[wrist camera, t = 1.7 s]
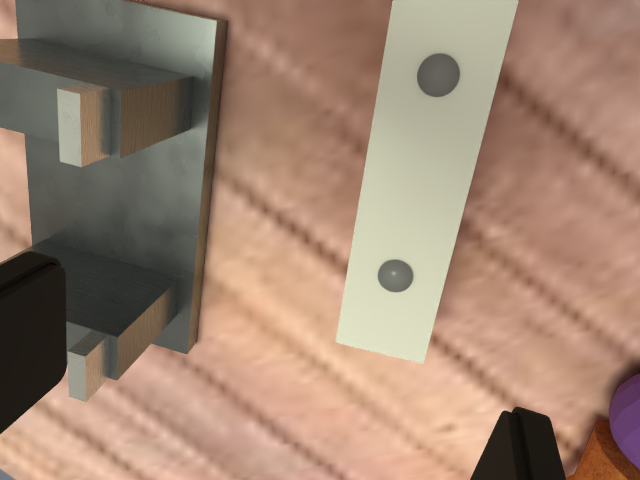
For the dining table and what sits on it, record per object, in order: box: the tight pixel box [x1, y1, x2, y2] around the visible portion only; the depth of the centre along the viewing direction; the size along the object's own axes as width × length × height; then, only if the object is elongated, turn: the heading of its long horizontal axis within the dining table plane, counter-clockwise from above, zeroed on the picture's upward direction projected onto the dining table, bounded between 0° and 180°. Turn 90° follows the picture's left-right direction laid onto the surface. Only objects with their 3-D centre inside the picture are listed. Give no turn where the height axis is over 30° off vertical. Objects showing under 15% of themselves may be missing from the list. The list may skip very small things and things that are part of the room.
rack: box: [0, 0, 228, 402], centre depth 28 cm, size 22×12×10 cm, turn 169°
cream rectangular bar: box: [335, 0, 519, 364], centre depth 26 cm, size 20×5×5 cm, turn 173°
